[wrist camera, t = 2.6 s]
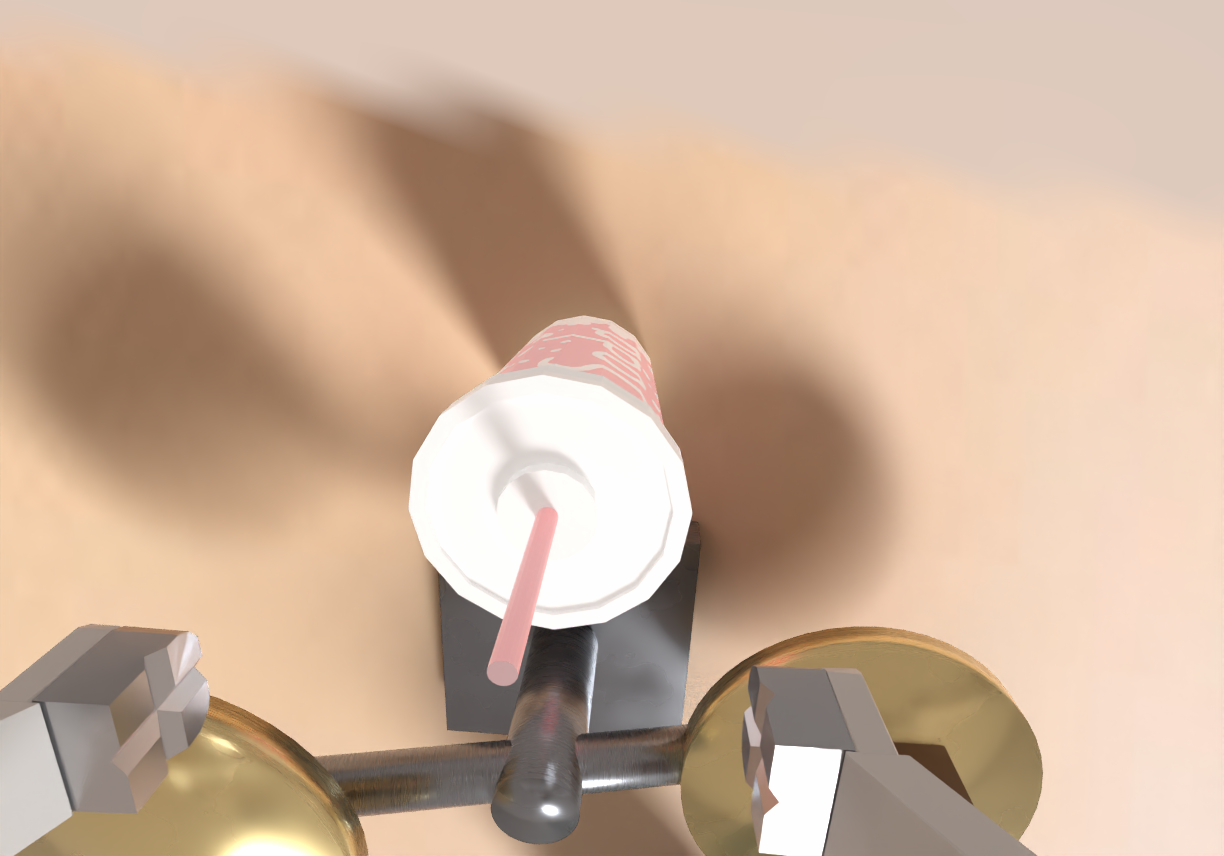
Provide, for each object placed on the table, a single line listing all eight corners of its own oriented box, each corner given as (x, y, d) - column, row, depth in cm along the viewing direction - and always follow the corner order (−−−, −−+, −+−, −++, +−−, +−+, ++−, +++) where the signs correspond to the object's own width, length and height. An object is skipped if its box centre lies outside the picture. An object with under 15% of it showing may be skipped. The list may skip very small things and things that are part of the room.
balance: (971, 527, 25) (1199, 795, 14) (913, 745, 28) (1061, 1082, 18) (188, 476, 25) (-123, 694, 15) (231, 694, 29) (3, 987, 19)
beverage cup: (716, 384, 23) (799, 681, 10) (588, 499, 25) (519, 878, 12) (582, 250, 22) (478, 396, 9) (457, 382, 24) (219, 664, 11)
